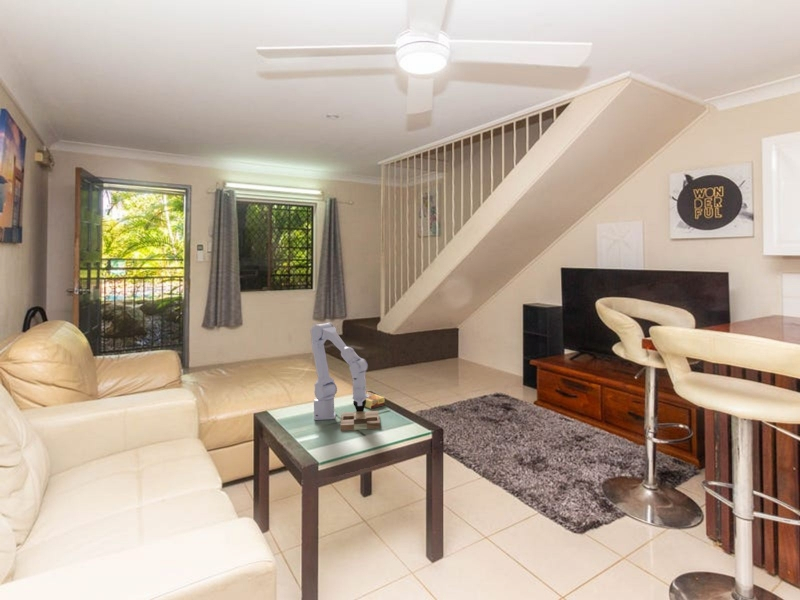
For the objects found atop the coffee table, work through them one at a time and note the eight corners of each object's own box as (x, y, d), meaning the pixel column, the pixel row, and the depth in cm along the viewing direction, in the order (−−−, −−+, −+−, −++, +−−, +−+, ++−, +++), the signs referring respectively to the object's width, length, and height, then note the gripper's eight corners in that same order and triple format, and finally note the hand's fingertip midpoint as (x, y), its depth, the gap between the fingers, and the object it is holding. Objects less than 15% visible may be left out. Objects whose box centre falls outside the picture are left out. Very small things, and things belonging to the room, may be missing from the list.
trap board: (341, 417, 198) (341, 408, 198) (378, 415, 200) (377, 406, 200) (340, 430, 183) (340, 420, 182) (380, 428, 184) (379, 418, 184)
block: (355, 423, 184) (355, 414, 183) (355, 420, 188) (355, 411, 187) (365, 423, 184) (364, 414, 184) (364, 419, 188) (364, 411, 188)
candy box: (385, 405, 215) (367, 398, 227) (384, 397, 215) (367, 390, 227) (370, 409, 210) (353, 402, 222) (370, 400, 210) (353, 394, 222)
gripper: (368, 390, 182) (369, 422, 183) (367, 382, 196) (368, 411, 197) (352, 391, 181) (353, 423, 182) (352, 382, 195) (353, 411, 196)
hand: (360, 416), depth 189 cm, fingers closed
